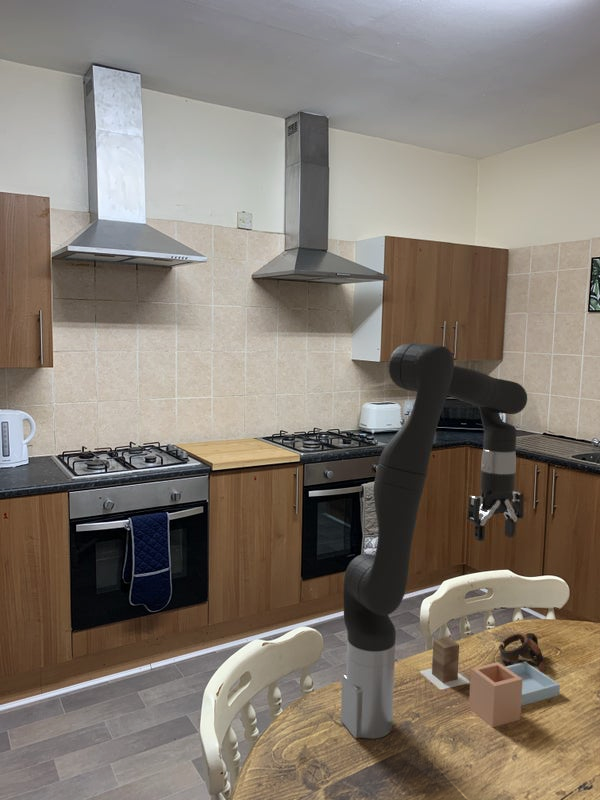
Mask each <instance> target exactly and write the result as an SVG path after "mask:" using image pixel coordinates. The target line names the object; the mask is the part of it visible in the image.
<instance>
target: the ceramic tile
mask: <svg viewBox="0 0 600 800" xmlns="http://www.w3.org/2000/svg"><path fill="white" fill-rule="evenodd" d="M418 672H420V674H421V675H422V676H423V677H424V678H426V679H427V680H428V681H429V682H431V684H433V685H434V686H435V687H436V688H437V689H439V690H440V691H442V690H446V689H450V688H454V687H457V686H458V687H459V686H463V685H467V684H470V680H468V679H467V678H466V677H465V676H463V675H462V674H461V673H460V672H458V679H457V680H453V681H449V682H445V683H442V682H441V681H440V680H439V679H437V678H436V677H435V676H434V675H433V674H432V667H431V668H428V669H423V670H419V671H418Z"/></svg>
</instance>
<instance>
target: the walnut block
mask: <svg viewBox="0 0 600 800" xmlns="http://www.w3.org/2000/svg"><path fill="white" fill-rule="evenodd" d="M432 640H433V642H432V663H431V668H432V674H433V675H434V676H435V677H436V678H437V679H439V680H440V681H441V682H442V683H445V682H449V681H453V680H457V679H458V673H459V662H460V661H459V659H460V644H459V643H458V642H456V641H455V640H453V639H452V638H450V636H445V637H440V638H436V639H432Z"/></svg>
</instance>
